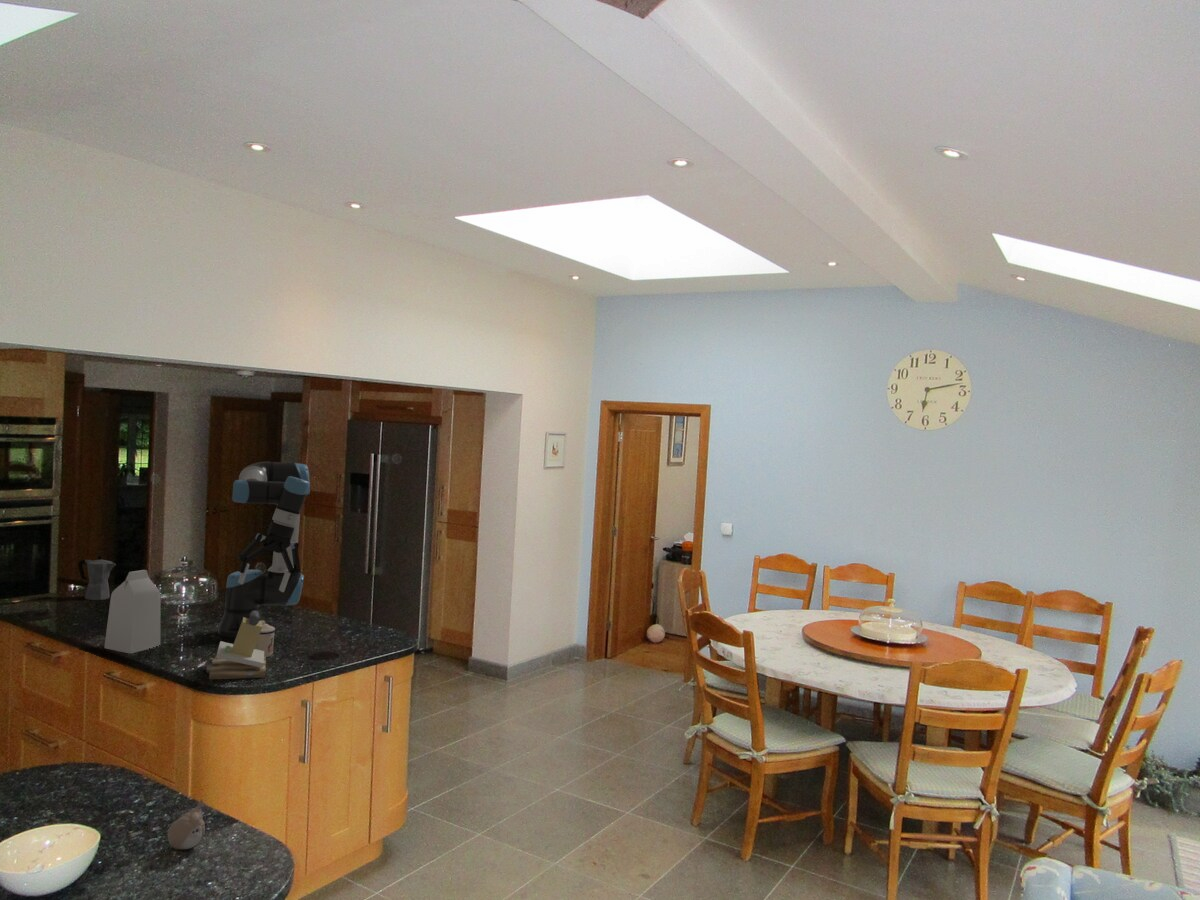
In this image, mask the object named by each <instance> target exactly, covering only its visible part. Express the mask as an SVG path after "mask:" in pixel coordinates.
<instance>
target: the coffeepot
mask: <svg viewBox="0 0 1200 900" xmlns="http://www.w3.org/2000/svg"><path fill="white" fill-rule="evenodd" d="M97 557H98V558H97V559H95V560H92V559H81V560H80V561H79V562H78V563H77V568H78V571H79V574H80V579H81V580H87V579H89V580H88V584H87V588H86V592H85V596H84V599H85V600H88V601H104V600H108V599H110V598H111V595H110V587H109V582H108V581H109V580H108V579H109V578H110V573H111V571H112V570H113V568H114V567H115V566H117V564H116V563H115V562H113V561H111V560H106V559H102V558H103V555H102V554H99V555H98V556H97ZM83 565H87V576H85V572H84V566H83Z"/></svg>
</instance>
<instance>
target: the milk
mask: <svg viewBox="0 0 1200 900" xmlns="http://www.w3.org/2000/svg"><path fill="white" fill-rule="evenodd" d="M161 599H162V598H161V591H160V589H159V588H158V587H157V586H156V584H154V581H152V580H151V578H150V577H149V573H148V570H147V569H140V570H134V571H129V572H128V573H127V575H126V577H125V580H124V581H123V582H122V583H121V584H120V585H118V586H117V587H116V588H115V589H114V590H113V591H112V592H111V595H110V602H109V609H108V617H107V624H106V625H107V626H106V633H105V641H104V649H108V650H111V651H116V652H121V653H125V654H135V653H139V652H141V651H142V652H143V651H146V650H149V648H150V649H153V647H154V648H157V647H156V646H158V647H160V646H161V618H162V617H161V608H162V607H161V602H162V601H161ZM159 645H160V646H159Z"/></svg>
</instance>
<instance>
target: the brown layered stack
mask: <svg viewBox="0 0 1200 900" xmlns="http://www.w3.org/2000/svg"><path fill="white" fill-rule="evenodd" d="M211 660H212V661H211V663H210V664H207V665H206V673H207V674H209V677H208V679H209V680H226V679H227V680H228V679H230V680H233V679H234V680H235V679H258V678H259V679H260V678H266V671H267V670H266V669H267V668H266V665H267V657H264V665H263V667H262V668H261V667H256V666H252V665H247V664H242V663H238V662H233V661H229V660H224V659H220V658H216V657H214V658H212V659H211Z"/></svg>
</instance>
